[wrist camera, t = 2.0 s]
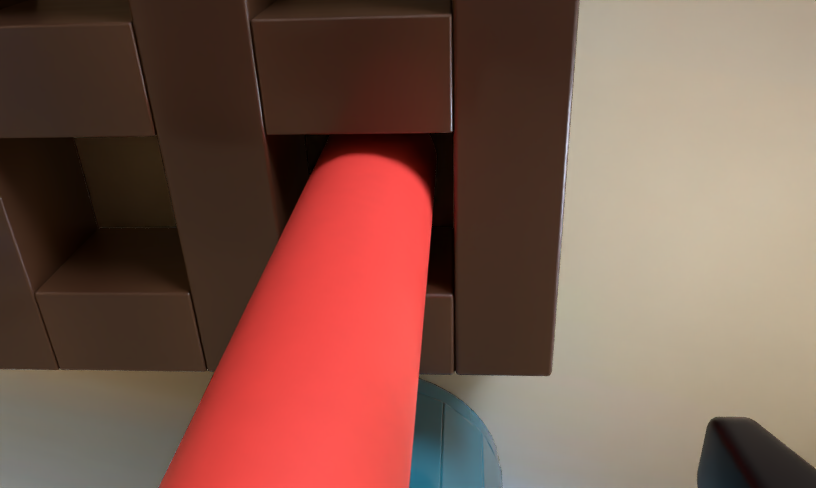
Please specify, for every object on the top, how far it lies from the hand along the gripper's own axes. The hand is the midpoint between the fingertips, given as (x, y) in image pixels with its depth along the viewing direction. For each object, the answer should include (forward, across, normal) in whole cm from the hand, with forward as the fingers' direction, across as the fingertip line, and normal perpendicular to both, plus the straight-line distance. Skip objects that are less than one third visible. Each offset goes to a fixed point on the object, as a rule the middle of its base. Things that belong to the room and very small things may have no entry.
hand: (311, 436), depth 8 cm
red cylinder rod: (+9, 0, 0) cm, 9 cm away
